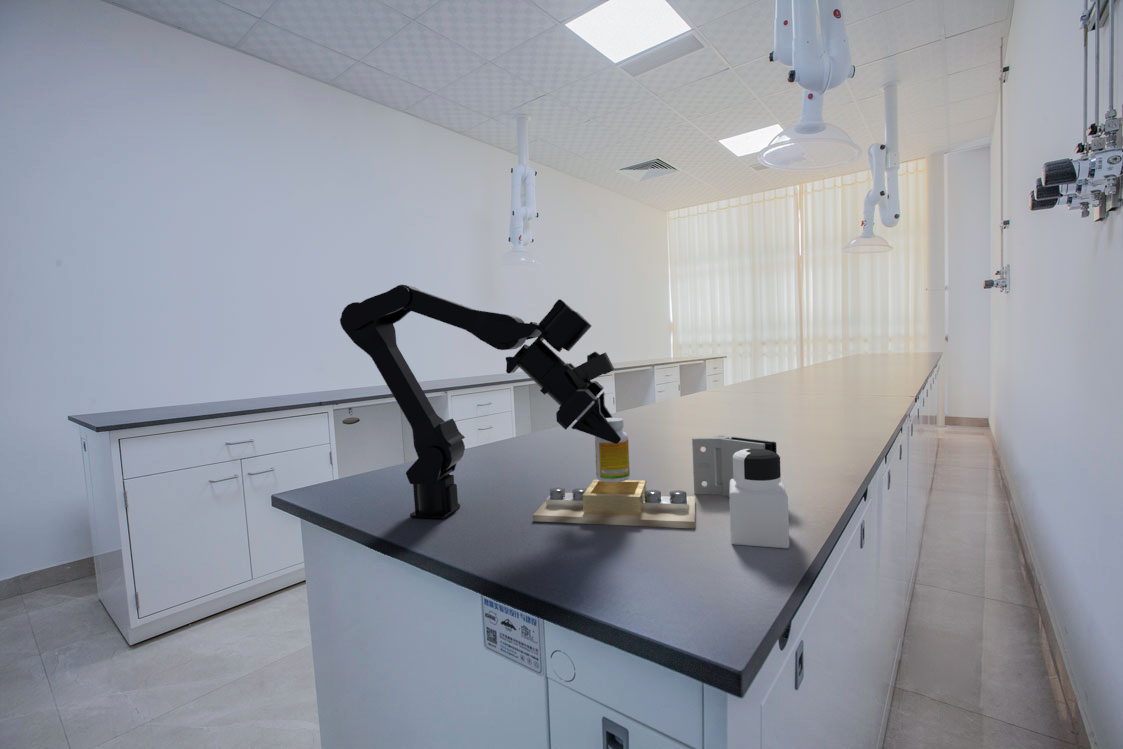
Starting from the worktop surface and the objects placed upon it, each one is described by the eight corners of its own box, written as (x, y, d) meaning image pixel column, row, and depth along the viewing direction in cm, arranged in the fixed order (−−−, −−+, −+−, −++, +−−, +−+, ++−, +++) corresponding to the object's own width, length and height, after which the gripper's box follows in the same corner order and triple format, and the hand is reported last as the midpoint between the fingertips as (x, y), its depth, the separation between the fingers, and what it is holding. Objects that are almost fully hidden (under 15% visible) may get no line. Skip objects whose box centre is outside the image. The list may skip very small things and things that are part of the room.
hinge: (692, 494, 89) (690, 438, 89) (704, 486, 93) (702, 433, 93) (773, 506, 81) (772, 444, 80) (782, 497, 85) (780, 438, 84)
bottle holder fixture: (541, 512, 81) (540, 493, 80) (556, 495, 89) (555, 478, 89) (687, 517, 74) (686, 498, 74) (688, 499, 83) (688, 481, 83)
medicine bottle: (784, 529, 71) (781, 446, 70) (789, 549, 64) (787, 457, 63) (731, 525, 73) (728, 445, 72) (731, 545, 66) (728, 456, 66)
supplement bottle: (636, 479, 80) (634, 419, 79) (607, 485, 77) (604, 423, 77) (618, 472, 85) (616, 415, 84) (590, 477, 82) (588, 419, 82)
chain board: (533, 521, 80) (532, 515, 79) (554, 497, 91) (553, 492, 91) (694, 528, 73) (694, 521, 73) (695, 502, 84) (695, 496, 84)
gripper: (575, 335, 71) (656, 410, 70) (589, 336, 89) (653, 395, 88) (524, 391, 73) (602, 465, 72) (548, 381, 91) (610, 440, 90)
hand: (619, 438), depth 80 cm, fingers closed on supplement bottle, 5 cm apart
